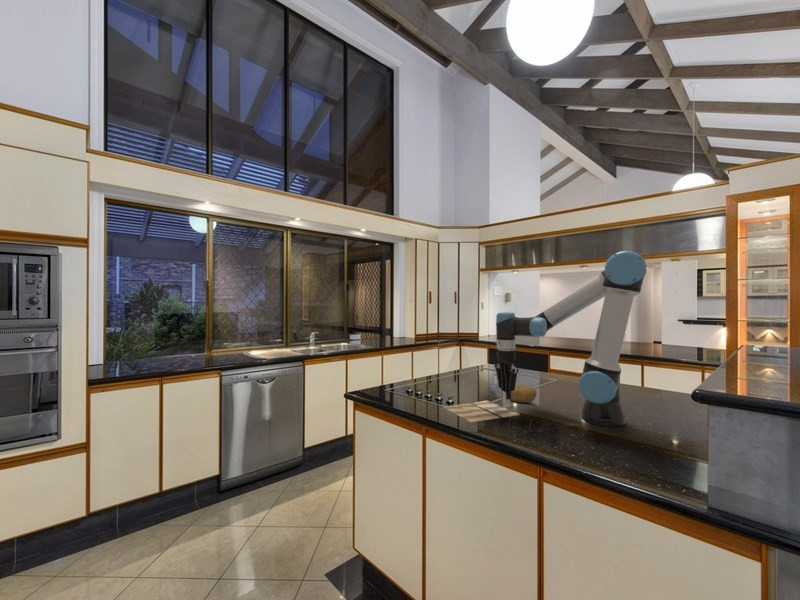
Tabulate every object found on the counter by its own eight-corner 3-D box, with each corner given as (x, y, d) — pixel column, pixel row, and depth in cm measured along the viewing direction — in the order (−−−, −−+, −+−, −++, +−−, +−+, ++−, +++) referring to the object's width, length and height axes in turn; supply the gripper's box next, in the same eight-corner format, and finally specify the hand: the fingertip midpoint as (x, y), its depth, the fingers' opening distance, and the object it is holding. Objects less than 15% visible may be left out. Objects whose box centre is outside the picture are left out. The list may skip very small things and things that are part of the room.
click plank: (519, 416, 148) (519, 413, 148) (503, 420, 145) (503, 416, 145) (486, 403, 168) (486, 399, 168) (471, 405, 165) (471, 402, 165)
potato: (510, 398, 178) (510, 381, 178) (539, 403, 169) (539, 386, 169) (501, 402, 170) (501, 385, 170) (532, 408, 161) (532, 390, 161)
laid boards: (501, 420, 144) (501, 417, 144) (470, 425, 139) (470, 422, 139) (469, 406, 165) (469, 403, 165) (442, 409, 160) (442, 406, 160)
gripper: (489, 348, 158) (489, 403, 158) (508, 352, 146) (509, 412, 145) (503, 347, 161) (504, 401, 160) (523, 350, 148) (524, 409, 148)
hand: (506, 406), depth 153 cm, fingers closed
